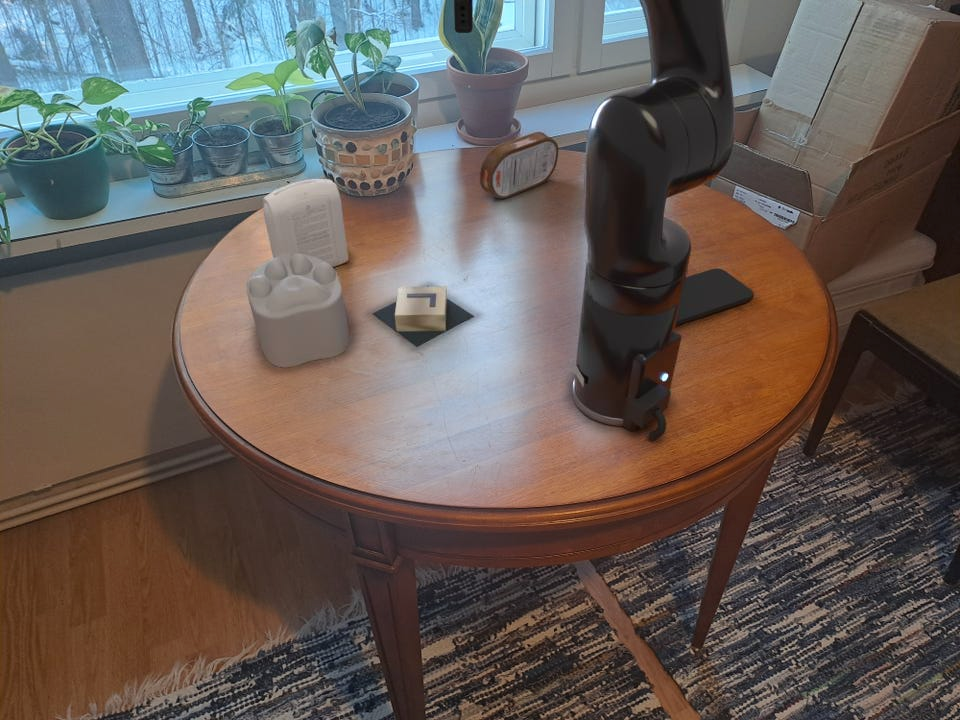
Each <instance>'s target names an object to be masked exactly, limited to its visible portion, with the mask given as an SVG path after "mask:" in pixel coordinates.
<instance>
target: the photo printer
mask: <svg viewBox="0 0 960 720" xmlns="http://www.w3.org/2000/svg"><path fill="white" fill-rule="evenodd" d="M342 206H343V205H342V199H341V194H340V192H339V188H338V186H337V184H336V183H335V182H333V180H331V179H326V178H311V179H305V180H299V181H295V182H292V183H288V184H286V185H284V186H281V187H278V188H277V189H275V190H273V191H272V192H270V193H268V194H266V195H265V196H264V197H263V198H262V208H263V217H264V221H265V226H266V230H267V235H268V240H269V245H270V250H271V254H272V258H274V257H276V256H279V255H283V254H288V253H297V254H304V255H309V256H313V257H316V258H318V259H320V260H322V261H324V262H326V263H329V264H330V265H331V266H332V267H333V268H335V267H337V266H340V265H343V264H346V263H347V262H349V251H348V244H347V236H346V230H345V222H344V215H343V207H342Z"/></svg>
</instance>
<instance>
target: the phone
mask: <svg viewBox="0 0 960 720" xmlns="http://www.w3.org/2000/svg"><path fill="white" fill-rule="evenodd" d="M754 295H755V293H754V291H753V290H752V289H751V288H750V287H748V286H747V285H745V284H744V283H743V282H742V281H740V280H739V279H737V278H736V277H734V276H733V275H731V273H729V272H728V271H726V270H724V269H723V268H711V269H708V270H704V271H702V272H699V273H695V274H692V275H689V276H686V278H685V282H684V287H683V292H682V296H681V301H680V306H679V310H678V315H677V320H676V324H675V327H677V326H679V325H683V324H685V323H688V322H691V321H694V320H697V319H700V318H703V317H706V316H709V315H712V314H715V313H718V312H722V311H724V310H727V309H730V308H733V307H736V306H739V305H742V304H745V303H749V302H751V301H752V300H753V299H754Z"/></svg>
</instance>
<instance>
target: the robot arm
mask: <svg viewBox="0 0 960 720" xmlns="http://www.w3.org/2000/svg"><path fill="white" fill-rule="evenodd" d="M473 2H474V0H453V12H454V14H453V16H454V31H455V33H457V34H470V33H472V32H473V27H474V4H473ZM638 2H639V4H640V7H641V9H642V13H643V16H644V20H645V25H646V30H647V36H648V37H647V38H648V44H649V52H650V54H649V55H650V72H651V76H650V80H651V81H650V83H647V84H644V85H640V86H636V87H632V88H629V89H626V90H622V91H618V92H615V93H613V94H612V95H609V96H607V97H606V98H605V99H603V101H601V102H600V103H599V105H598V106H597V107H596V109H595V111H594V113H593V115H592V118H591V121H590V123H589V126H588V131H587V135H586V136H587V137H586V144H585V153H584V156H585V157H584V182H583V183H584V184H583V205H582V207H583V208H582V209H583V210H582V217H583V218H582V220H583V221H582V222H583V228H584V234H585V239H586V242H587V255H586V256H587V257H586V266H585V275H584V284H583V293H582V304H581V312H580V322H579V330H578V331H579V332H578V339H577V341H578V342H577V348H576V349H577V350H576V358H575V359H576V360H575V361H572V362H573V363H572V370H573V372H574V379H573V383H572V391H571V392H572V393H571V395H572V399H573V402H574V403H575V405H576V407H577V408H578V409H579V410H580V411H581V412H582V413H583V414H584V415H586V417H588V418H590V419H592V420H594V421H596V422H598V423H601V424H605V425H609V426H616V427H623V428H625V429H626V430H628V431H630V432H633V431H634V430H636V429H638V428H640V429H642V428H644V427H646V426H647V425H649V424H650V422H652V421H654V419H655V421H656V424H657V427H656V428H655V429H653V430H651V431H650V432H649V433H648V438H649V439H650V440H651V441H656V440H657V439H659V438H660V437H662V436H663V435H665V432H666V430H667V420H666V417H665V415H664V411H666V410H667V409H668V408H669V403H670V398H671V395H672V391H671V387H672V383H673V378H674V373H675V369H676V364H677V360H678V355H679V351H680V348H681V347H680V346H681V343H682V334H680V333H679V332H677V331H675V328H676V326H675V324H676V320H677V315H678V310H679V306H680V301H681V296H682V292H683V287H684V282H685V278H686V277H687V272H688V268H689V263H690V259H691V253H692V241H691V238H690V235H689V234H688V233H687V231H686V230H685V229H684V228H683V227H682V226H681V225H680V224H678V223H676V222H675V221H673V220H671V219H670V218H667V217H664V216H665V209H666V204H667V203H666V202H667V199H668V198H671V197H674V196H676V195H679V194H682V193H684V192H687V191H690V190H693V189H695V188H698V187H700V186H702V185H705V184H707V183H710V181H713V180H714V179H715V178H717V177H719V175H720V174H721V173H722V171H723V170H724V169H725V167H726V166H727V164H728V162H729V160H730V158H731V155H732V152H733V147H734V142H735V131H736V114H735V113H736V111H735V101H734V90H733V81H732V72H731V63H730V57H729V55H730V54H729V46H728V39H727V37H728V36H727V30H726V20H725V9H724V0H638Z"/></svg>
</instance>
